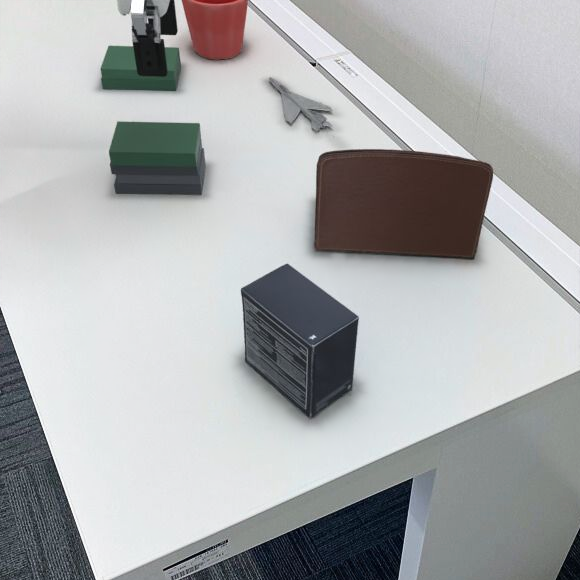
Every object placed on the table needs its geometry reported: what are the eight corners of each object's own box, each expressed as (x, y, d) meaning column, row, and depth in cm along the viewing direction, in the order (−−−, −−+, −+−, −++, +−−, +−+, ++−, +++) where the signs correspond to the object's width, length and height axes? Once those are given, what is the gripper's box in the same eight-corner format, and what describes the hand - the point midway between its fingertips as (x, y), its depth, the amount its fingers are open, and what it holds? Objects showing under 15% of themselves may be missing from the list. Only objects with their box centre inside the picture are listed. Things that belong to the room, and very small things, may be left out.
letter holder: (475, 259, 94) (498, 161, 84) (313, 252, 94) (316, 152, 83) (467, 210, 101) (487, 113, 91) (316, 202, 100) (319, 104, 90)
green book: (111, 165, 96) (108, 151, 94) (119, 134, 101) (117, 121, 99) (196, 167, 97) (195, 153, 95) (201, 136, 101) (199, 122, 100)
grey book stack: (115, 194, 99) (109, 164, 96) (123, 165, 104) (117, 136, 100) (201, 195, 100) (198, 166, 97) (205, 166, 104) (202, 137, 101)
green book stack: (102, 89, 117) (98, 69, 114) (110, 64, 122) (107, 45, 119) (176, 90, 117) (173, 71, 115) (181, 66, 123) (179, 47, 120)
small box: (357, 387, 79) (364, 315, 72) (310, 421, 76) (312, 349, 68) (289, 332, 84) (288, 259, 77) (242, 361, 81) (237, 288, 73)
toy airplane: (290, 75, 123) (290, 61, 121) (363, 139, 111) (364, 125, 109) (247, 86, 119) (247, 72, 118) (317, 153, 108) (318, 139, 106)
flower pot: (251, 34, 131) (248, -25, 124) (250, 65, 124) (247, 5, 117) (188, 33, 130) (182, -27, 123) (183, 64, 123) (176, 3, 116)
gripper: (112, -145, 80) (136, 18, 93) (79, -86, 69) (112, 91, 81) (184, -141, 81) (199, 20, 93) (164, -82, 69) (184, 94, 82)
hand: (158, 53), depth 87 cm, fingers open, 9 cm apart
